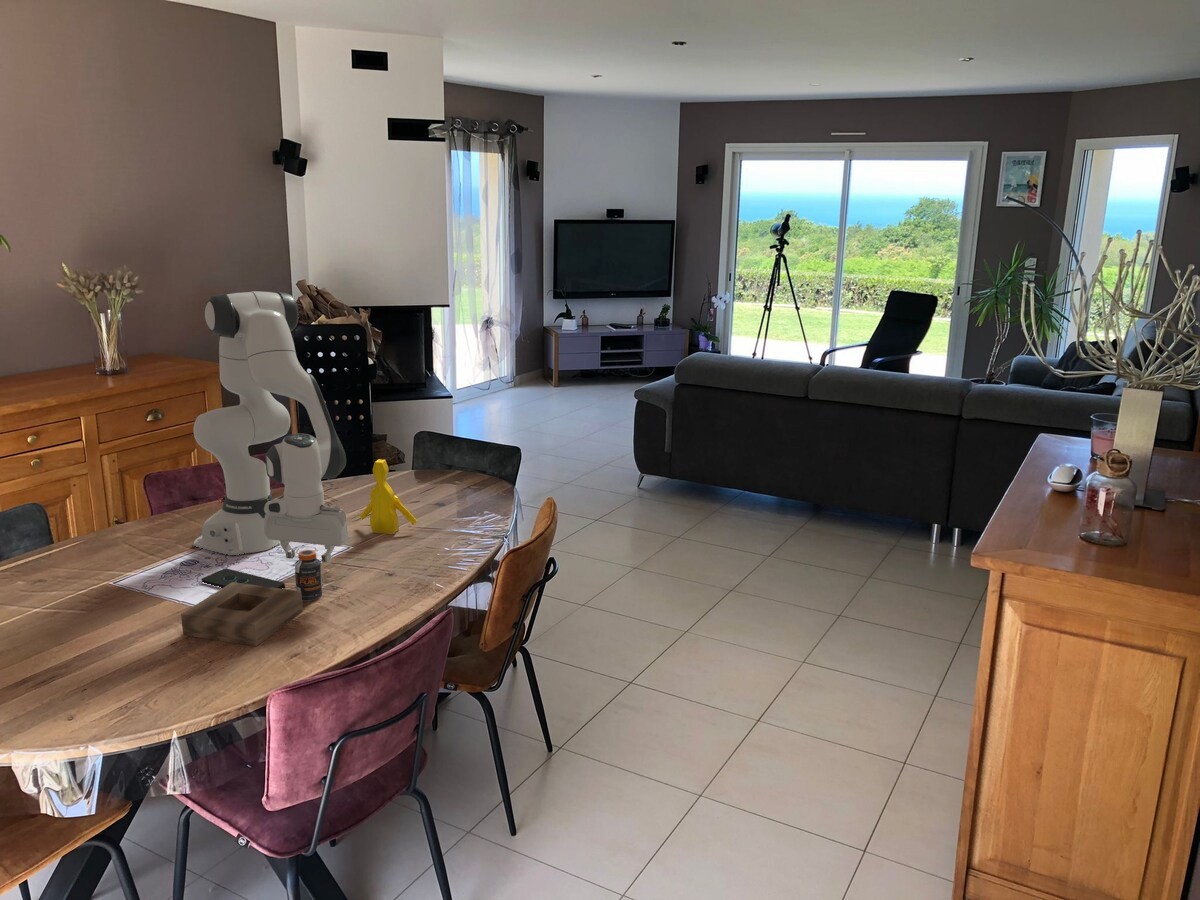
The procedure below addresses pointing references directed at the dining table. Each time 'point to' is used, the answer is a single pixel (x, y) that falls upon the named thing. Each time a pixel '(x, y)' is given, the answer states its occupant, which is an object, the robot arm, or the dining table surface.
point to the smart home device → (239, 579)
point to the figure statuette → (384, 503)
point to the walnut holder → (242, 613)
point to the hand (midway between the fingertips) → (308, 559)
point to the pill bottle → (308, 575)
